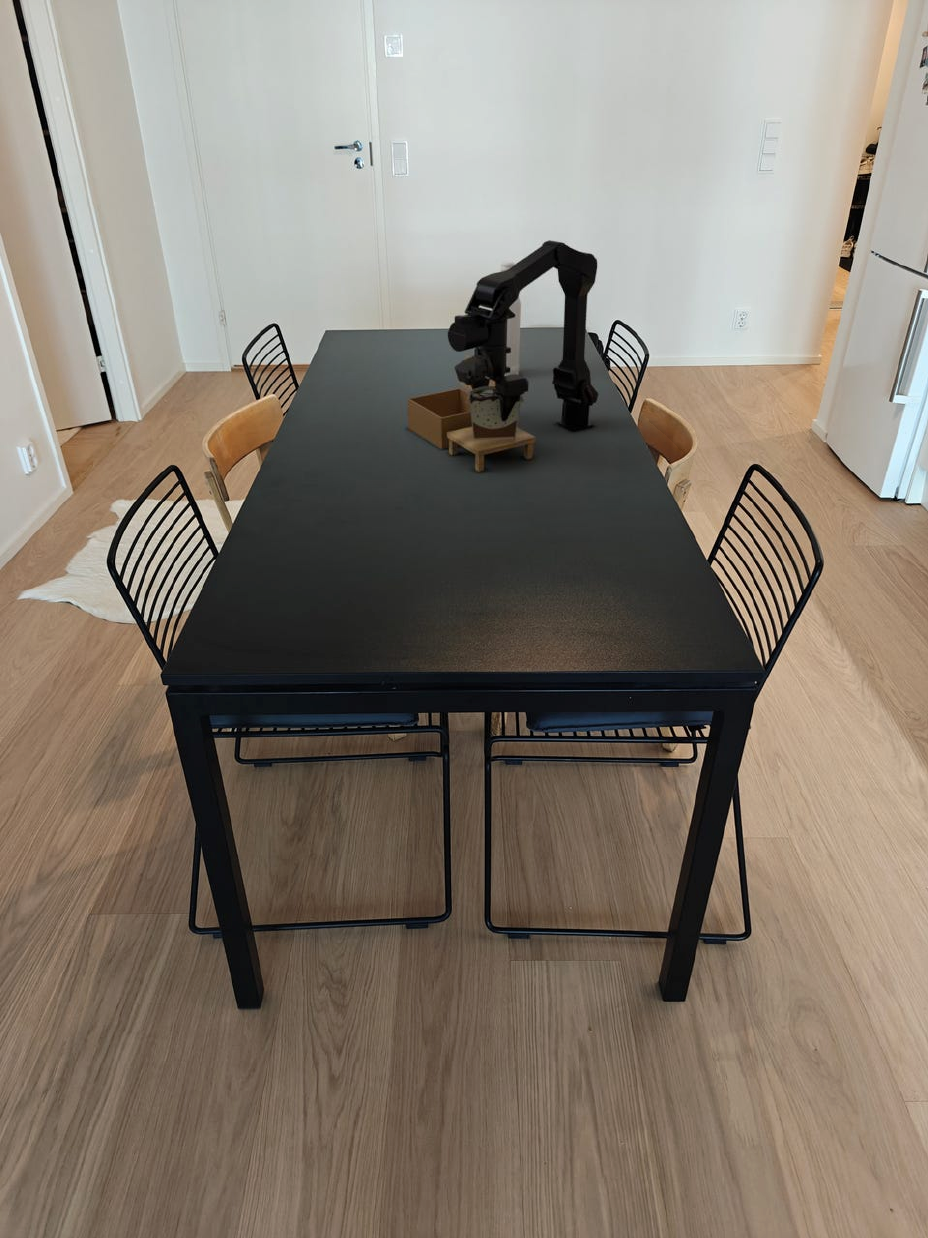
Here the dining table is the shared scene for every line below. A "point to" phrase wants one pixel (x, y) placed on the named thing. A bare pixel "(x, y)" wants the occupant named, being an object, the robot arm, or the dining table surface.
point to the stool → (488, 444)
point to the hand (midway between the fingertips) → (492, 414)
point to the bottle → (513, 330)
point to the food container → (491, 415)
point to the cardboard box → (439, 415)
